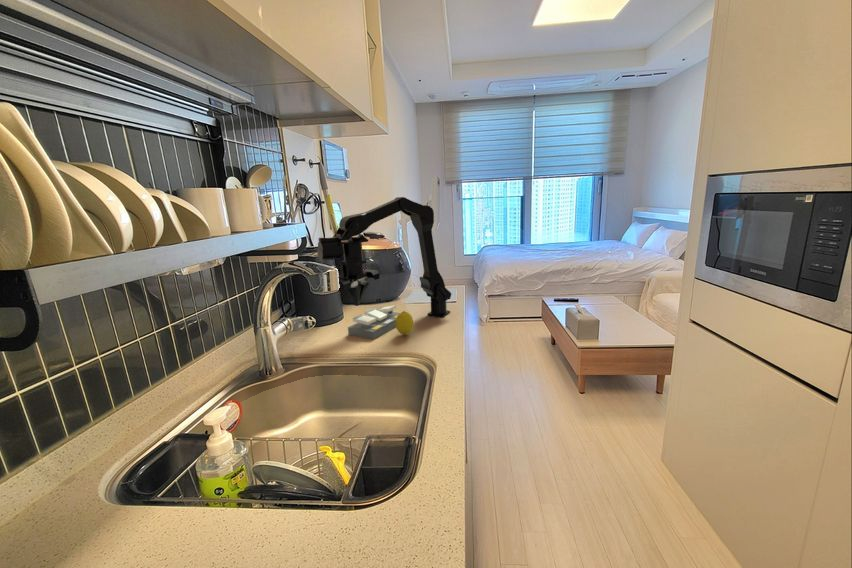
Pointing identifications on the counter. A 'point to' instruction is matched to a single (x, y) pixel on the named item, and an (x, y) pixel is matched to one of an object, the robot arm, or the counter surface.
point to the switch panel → (374, 327)
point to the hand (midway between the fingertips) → (356, 305)
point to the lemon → (404, 323)
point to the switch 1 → (364, 319)
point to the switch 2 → (386, 308)
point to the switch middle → (375, 314)
